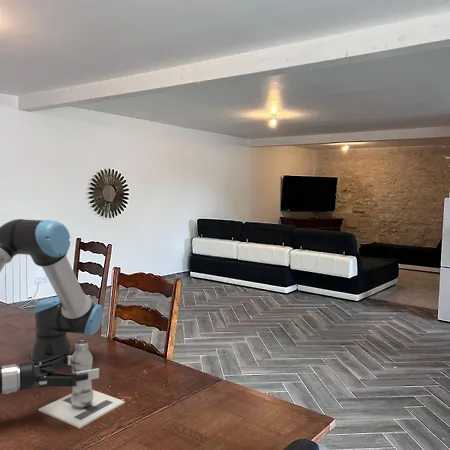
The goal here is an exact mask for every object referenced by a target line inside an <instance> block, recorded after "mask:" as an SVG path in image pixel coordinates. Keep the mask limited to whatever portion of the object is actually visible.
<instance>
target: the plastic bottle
mask: <svg viewBox="0 0 450 450" xmlns="http://www.w3.org/2000/svg"><path fill="white" fill-rule="evenodd" d="M71 356H72V357H71V365H70V367H71V373H72V374H76V372H80V371H85V370H91V369H93V363H94V362H93V359H94V357H93V354H92V353H91V351H89V341H88V340H85V339H84V340H78V341H76V342H75V347H74V352H73V353H72V354H71ZM93 390H94V389H93V384H92V379H91V380H85V381H80V382H77V385H76V386H73V387H72V391H71V393H70V394H71V402H72V404H73V405H74V406H75V407H78V408H83V407H87V406H89V405H90V404H91V403H92V402H93V397H94V395H93Z"/></svg>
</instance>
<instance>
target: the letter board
mask: <svg viewBox="0 0 450 450" xmlns="http://www.w3.org/2000/svg"><path fill="white" fill-rule="evenodd" d="M92 390H93V395H94V397H93V402H92V403H91V404H90V405H89V406H87V407H83V408H78V407H75V406H74V405H73V404H72V402H71V394H72V393H70V394H67V395H65V396H63V397H61V398H59V399H57V400H55V401H53V402H49V403H48V404H46V405H43V406H42V407H40V408H38V412H40V413H43V414H45V415H47V416H50V417H52V418H54V419H55V420H59V421H61V422H63V423H66V424H68V425H71V426H73V427H75V428H78V429H79V430H81V428H83V427H85V426H87V425H89V424H91V423H93V422H94V421H96V420H98V419H99V418H101V417H103V416H105V415H106V414H108V413H110V412H112V411H113V410H115V409H117V408H119V407H121V406H122V405H124V404H126V402H125V401H124V400H122V399H120V398H117V397H114V396H111V395H108V394H107V393H106V394H105V393H103V392H100V391H97V390H95V389H92Z"/></svg>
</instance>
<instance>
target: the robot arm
mask: <svg viewBox="0 0 450 450" xmlns="http://www.w3.org/2000/svg"><path fill="white" fill-rule="evenodd" d="M70 235H71V234H70V232H69V229H68V228H67V227H66V226H65V225H64V224H63V223H62V222H60V221H57V220H56V221H54V220H51V219H46V220H43V219H42V220H41V219H24V218H18V219H12V220H10V221H8V222H5V223H4V224H2V225H1V226H0V273H1V272H2V270H3V268H4V267H5V265H6V264H9V263H10V262H12V260H13V258H14V257H15V256H16V255H25V256H26V255H27V256H28V255H29V256H30V258H31V260H32V261H33V263H34V264H35V266H37V267H41V268H42V270H43V271H44V273H45V275H46V277H47V280H48V281H49V283H50V284H51V287H52V289H53V291H54V292H55V294H56V296H53V297H47V298H43V299H41V300H39V301H37V302H36V304H35V311H34V314H35V317H34V318H35V320H34V321H35V338H34V342H33V346H32V349H31V350H30V359H31V360H32V361H35V362H32V361H28V362H22V363H18V365H17V364H16V363H13V364H9V365H0V395H3V394H5V395H9V394H10V393H13V392H14V393H15V392H18V390H19V391H21V392H22V391H28V390H32V389H34V387H35V383H36V384H37V383H38V387H39V388H47V387H62V388H63V387H65V388H66V387H68V388H69V387H70V388H71V387H72V388H73V386H76V385H77V382H80V381H85V380H91V381H92V380H95V379H99V378H100V368H99V367H98V368H92V369H91V370H85V371H80V372H76V374H72V372H71V373H70V372H63V371H56V370H57V369H60V368H62V367H64V366H65V365H67V366H71V357H72V346H71V343H70V341H69V340H70V339H69V338H68V333H69V334H70V333H71V334H78V335H94V334H96V333H97V332H98V331H99V329H100V328H101V327H100V326H101V325H102V321H103V317H104V310H103V306H102V305H101V304H98V303H94V302H93V299H92V298H91V296H89V295H87V294H85V293H84V291H83V289H82V286H81V285H80V282H79V280H78V278H77V277H76V274H75V272H74V269H73V267H72V266H71V264H70V261H69V259H68V257H67V255H68V251H69V250H70V246H71V241H70V239H71V236H70Z"/></svg>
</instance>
